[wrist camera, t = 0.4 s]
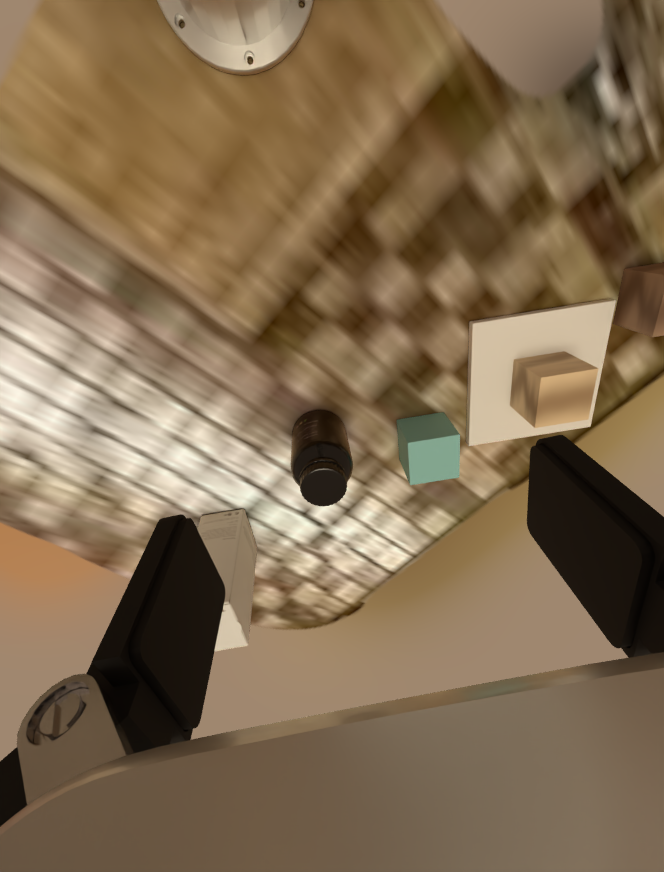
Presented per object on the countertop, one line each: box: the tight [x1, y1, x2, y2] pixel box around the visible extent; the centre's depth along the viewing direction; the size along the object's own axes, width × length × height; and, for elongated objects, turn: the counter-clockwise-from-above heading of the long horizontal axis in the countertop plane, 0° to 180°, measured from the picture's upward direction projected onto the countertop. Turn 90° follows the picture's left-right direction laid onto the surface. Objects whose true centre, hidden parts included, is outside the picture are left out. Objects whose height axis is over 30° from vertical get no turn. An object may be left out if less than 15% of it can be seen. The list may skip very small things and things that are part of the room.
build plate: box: [466, 299, 616, 446], centre depth 48 cm, size 16×16×1 cm
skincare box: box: [197, 509, 257, 651], centre depth 50 cm, size 8×7×16 cm
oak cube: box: [510, 351, 598, 428], centre depth 45 cm, size 6×6×6 cm
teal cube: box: [397, 412, 460, 485], centre depth 49 cm, size 6×6×6 cm
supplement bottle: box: [291, 410, 353, 506], centre depth 45 cm, size 7×7×12 cm
